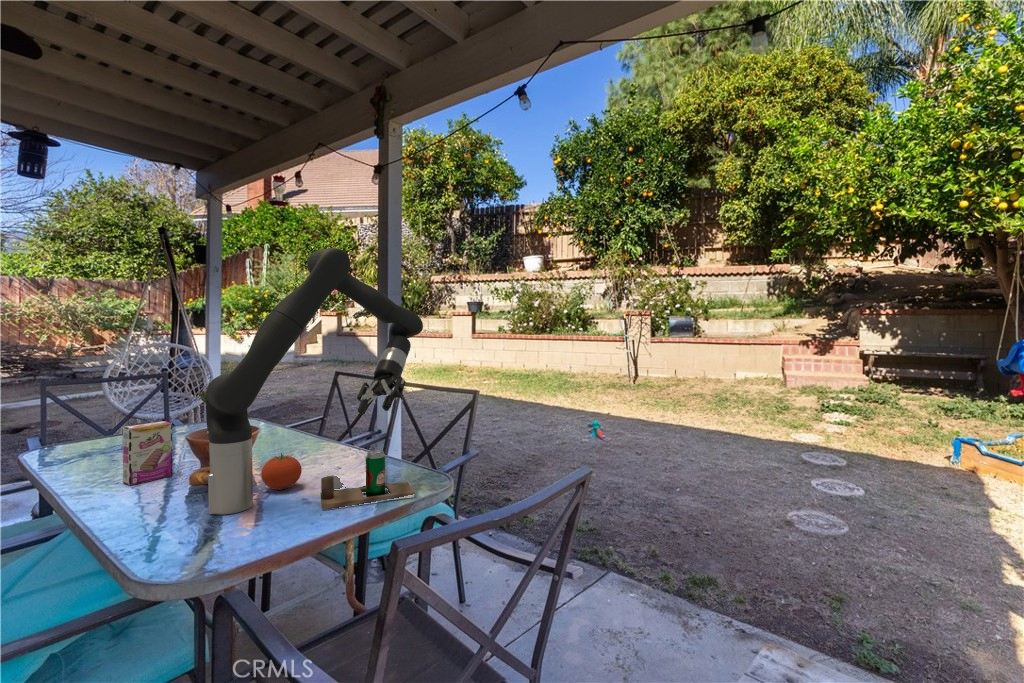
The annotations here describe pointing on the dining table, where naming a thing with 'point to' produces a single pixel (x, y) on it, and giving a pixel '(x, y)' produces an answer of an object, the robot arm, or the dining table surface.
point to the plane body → (357, 494)
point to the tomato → (281, 472)
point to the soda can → (375, 473)
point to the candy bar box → (147, 452)
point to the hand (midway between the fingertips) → (372, 411)
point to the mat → (337, 482)
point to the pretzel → (200, 476)
